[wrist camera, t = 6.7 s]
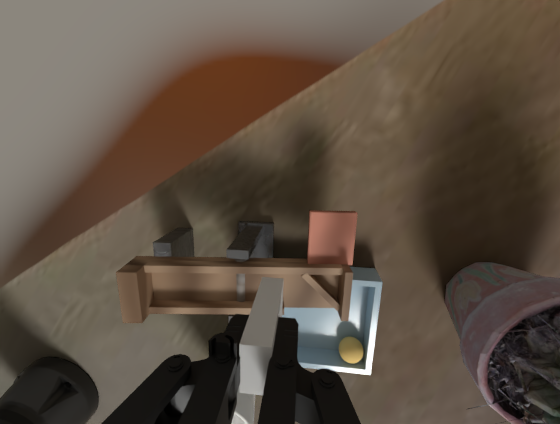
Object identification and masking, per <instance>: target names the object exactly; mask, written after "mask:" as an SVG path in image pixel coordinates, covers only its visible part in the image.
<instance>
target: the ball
mask: <svg viewBox="0 0 560 424" xmlns="http://www.w3.org/2000/svg"><path fill="white" fill-rule="evenodd" d="M339 353H340V356H341V357H342V359H343V360H344V361H346V362H348V363H357V362H359V361H360V360H361V359H362V357H363V346H362V344H361V343H360V341H359V340H358V339H356V338H354V337H345V338H343V339H342V340H341V342H340V344H339Z"/></svg>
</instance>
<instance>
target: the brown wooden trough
mask: <svg viewBox="0 0 560 424" xmlns="http://www.w3.org/2000/svg"><path fill="white" fill-rule="evenodd" d="M356 223H357V212H355V211H311V210H309V230H308V249H307V259H300V258H249V260H248V259H233V258H227V257H158V256H136V257H135V258H134V259H132V260H131V261H130V262H129V263H127V264H126V265H125V266H124V267H122V268H121V269H120V270H118V271H117V272H116V276H117V283H118V290H119V297H120V305H121V312H122V319H123V323H143V321H144V320H145V319H146V317H147V316H148V315H149V314H245V315H250V312H251V309H252V306H253V303H254V300H255V297H256V294H257V291H258V288H259V285H260V282H261V279H262V277H270V278H283V279H284V283H283V307H282V315H284V308H334V309H336V310H337V311H338V314H339V317H340V319H341V321H349V310H350V300H351V290H352V280H353V272H352V270H351V268H350V267H349V265H352V264H353V254H354V244H355V233H356Z"/></svg>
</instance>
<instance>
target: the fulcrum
mask: <svg viewBox="0 0 560 424" xmlns="http://www.w3.org/2000/svg"><path fill="white" fill-rule="evenodd" d="M238 223H239V235H238V236H237V237H236V239H235V240H234V241H233V242H232V243H231V245H230V246H229V247H228V248H227V258H233V259H248V260H249V258H273V243H274V223H269V222H251V221H239V222H238ZM234 315H235V314H229V316H228V317H229V321H230V319H231V318H232V317H233V316H234Z"/></svg>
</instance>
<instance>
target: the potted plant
mask: <svg viewBox="0 0 560 424" xmlns="http://www.w3.org/2000/svg"><path fill="white" fill-rule="evenodd" d="M445 304H446V306H447V309H448V311H449V314H450V316H451V319H452V321H453V324H454V326H455V328H456V331H457V333H458V336H459V338H460V349H461V353H462V357H463V362H464V364H465V366H466V367H467V369H468V371H469V372H470V374H471V376H472V378H473V379H474V381H475V383H476V385H477V386H478V388H479V390H480V392H481V393H482V395H483V397H484V398H485V400H486V402H487V404H488V405H489V406H490V407H492V408H493V409H494V410H495V411H497V412H498V413H499V414H500V415H502V416H503V417H504V418H505V419H506V420H508V421H509V422H510V423H511V424H560V278H553V277H545V276H540V275H537V274H533V273H530V272H527V271H523V270H520V269H516V268H513V267H509V266H506V265H501V264H497V263H493V262H476V263H474V264H471V265H469V266H467V267H465V268H463V269H461V270H460V271H459V272H457V273H456V274H455V275H454V276H453V278H452V279H451V280H450V281H449V282H448V284H447V285H446V295H445ZM483 406H486V405H483ZM478 407H481V406H478ZM473 408H475V407H473ZM468 409H470V408H468ZM505 422H507V421H505ZM500 423H501V422H500ZM495 424H496V423H495Z"/></svg>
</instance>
